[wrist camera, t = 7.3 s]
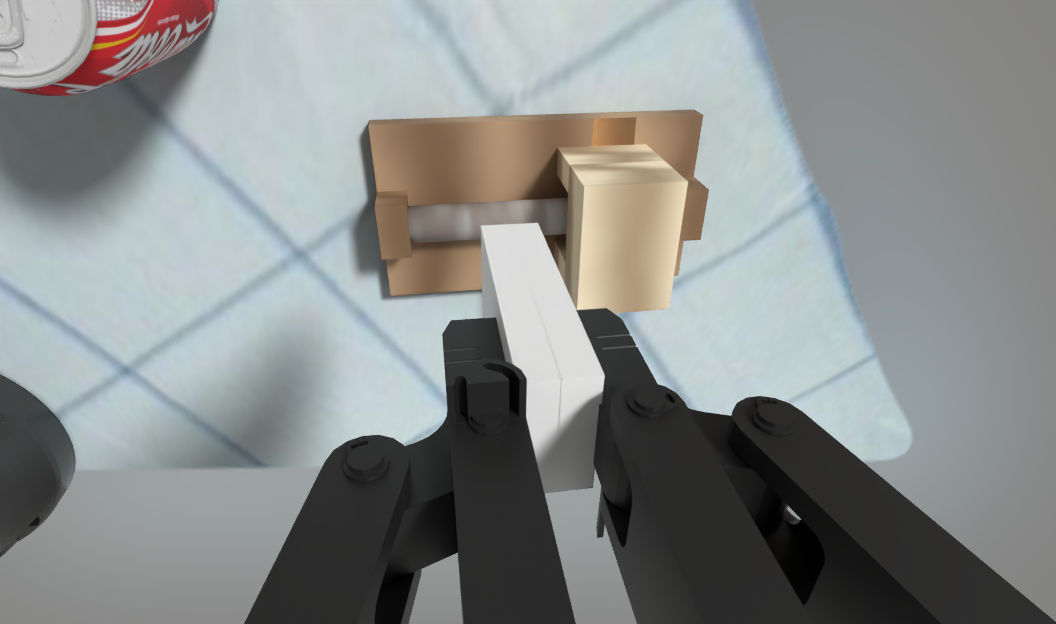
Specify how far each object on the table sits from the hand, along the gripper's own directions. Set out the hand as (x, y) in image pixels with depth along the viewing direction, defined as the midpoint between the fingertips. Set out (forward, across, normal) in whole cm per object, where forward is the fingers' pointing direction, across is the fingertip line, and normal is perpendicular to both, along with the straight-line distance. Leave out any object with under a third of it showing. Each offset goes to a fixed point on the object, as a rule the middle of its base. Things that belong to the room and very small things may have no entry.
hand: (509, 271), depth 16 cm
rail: (+19, +4, -5) cm, 20 cm away
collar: (+18, +8, -5) cm, 20 cm away
